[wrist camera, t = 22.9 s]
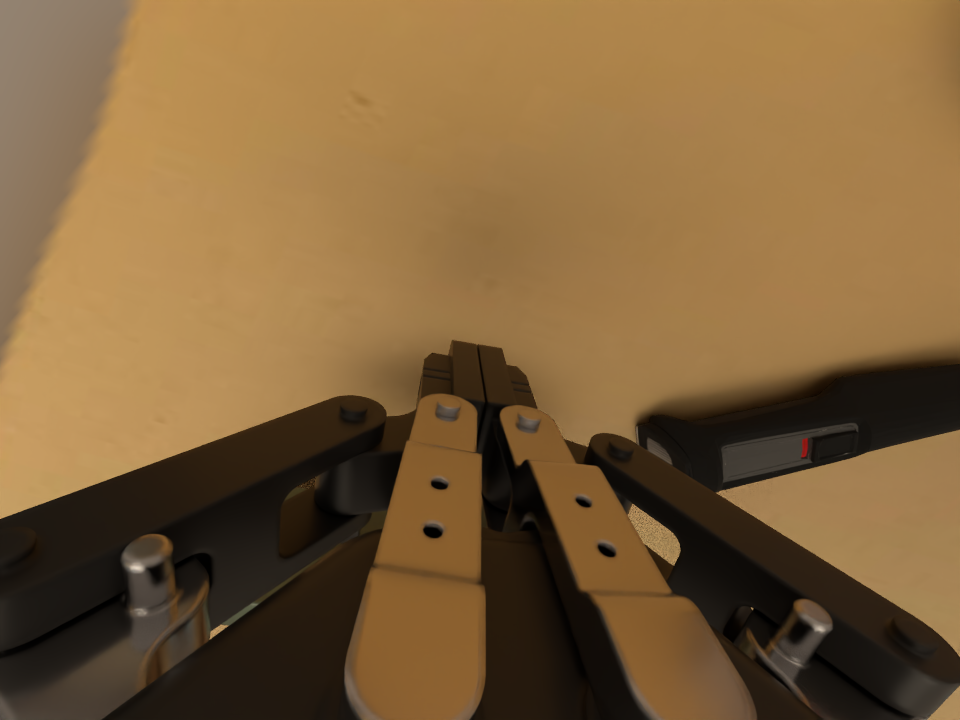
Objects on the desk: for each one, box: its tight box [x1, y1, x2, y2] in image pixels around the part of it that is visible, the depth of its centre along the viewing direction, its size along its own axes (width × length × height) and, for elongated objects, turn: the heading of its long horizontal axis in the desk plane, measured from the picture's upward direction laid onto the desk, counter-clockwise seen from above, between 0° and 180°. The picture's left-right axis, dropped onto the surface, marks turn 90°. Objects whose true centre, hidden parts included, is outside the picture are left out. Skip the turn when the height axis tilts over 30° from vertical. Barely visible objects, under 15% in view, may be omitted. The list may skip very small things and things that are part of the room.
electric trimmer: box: [636, 364, 960, 493], centre depth 20 cm, size 4×16×3 cm, turn 102°
